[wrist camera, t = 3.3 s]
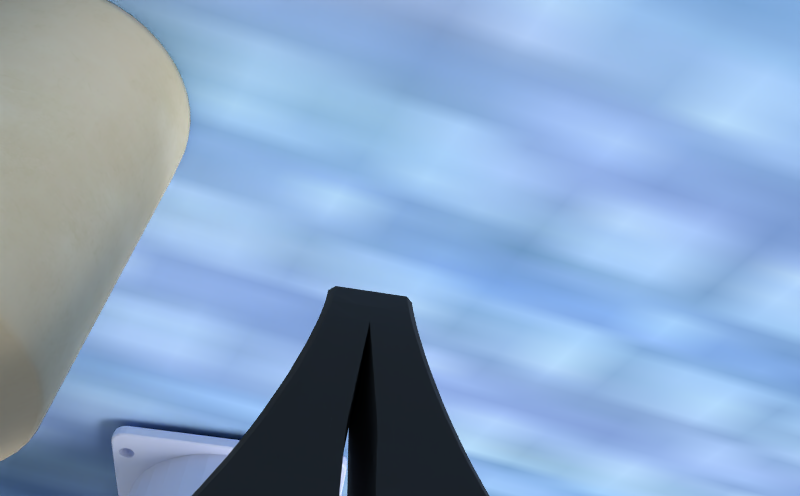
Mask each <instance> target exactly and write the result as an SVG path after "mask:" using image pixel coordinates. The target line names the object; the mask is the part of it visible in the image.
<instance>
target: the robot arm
mask: <svg viewBox="0 0 800 496" xmlns="http://www.w3.org/2000/svg"><path fill="white" fill-rule="evenodd" d="M348 428H349V440H348V490H347V496H489V495H488V493H487V491H486V489H485V488H484V486H483V484H482V482H481V480H480V479H479V477H478V475H477V473H476V471H475V470H474V468H473V466H472V464H471V462H470V460H469V458H468V456H467V454H466V452H465V450H464V448H463V446H462V444H461V442H460V440H459V438H458V436H457V433H456V431H455V429H454V427H453V425H452V423H451V420H450V418H449V416H448V414H447V411H446V409H445V407H444V404H443V402H442V399H441V397H440V394H439V391H438V389H437V386H436V384H435V381H434V379H433V376H432V373H431V371H430V368H429V365H428V362H427V359H426V356H425V353H424V350H423V347H422V343H421V340H420V337H419V333H418V330H417V326H416V322H415V317H414V313H413V307H412V302H411V301H410V300H409V299H408V298H407V297H405V296H399V295H392V294H385V293H379V292H372V291H365V290H358V289H352V288H345V287H338V286H335V287H333V288H332V289H330V290H328V294H327V298H326V301H325V304H324V307H323V309H322V312H321V314H320V317H319V319H318V321H317V323H316V325H315V327H314V329H313V331H312V333H311V335H310V337H309V339H308V341H307V343H306V344H305V346H304V348H303V350H302V351H301V353H300V355H299V356H298V358H297V360H296V361H295V363H294V365H293V366H292V368H291V370H290V372H289V373H288V375H287V376H286V378H285V379H284V381H283V382H282V384H281V385H280V387H279V388H278V390H277V391H276V392H275V394H274V395H273V397H272V398H271V400H270V401H269V403H268V404H267V405H266V407H265V408H264V410H263V411H262V413H261V414H260V415H259V417H258V418H257V419H256V421H255V422H254V423H253V425H252V426H251V427H250V429H249V430H248V431H247V432H246V434H245V435H244V436H243V437H242V439H241V440H234V439H227V438H219V437H211V436H203V435H195V434H188V433H180V432H172V431H164V430H156V429H148V428H141V427H133V426H122V427H118V428H117V429H116V430H115V431H114V434H113V436H112V439H111V444H112V451H113V459H114V467H115V474H116V482H117V490H118V496H341V494H342V489H343V484H344V479H345V474H346V468H347V460H346V458H345V457H344V456H343V452H344V447H345V442H346V438H347V433H348Z"/></svg>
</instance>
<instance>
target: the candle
mask: <svg viewBox="0 0 800 496" xmlns="http://www.w3.org/2000/svg"><path fill="white" fill-rule="evenodd" d="M189 129H190V106H189V101H188V95H187V92H186V89H185V86H184V83H183V80H182V78H181V76H180V73H179V71H178V69H177V67H176V65H175V64H174V62H173V60H172V59H171V57H170V56H169V54H168V52H167V51H166V50H165V49H164V47H163V46H162V45H161V43H160V42H159V41H158V40H157V39H156V38H155V37H154V35H153V34H152V33H151V32H150V31H149V30H148V29H147V28H146V27H145V26H143V25H142V24H141V23H140V22H139V21H137V20H136V19H135V18H134V17H133V16H131V15H130V14H128V13H127V12H125V11H124V10H123V9H121V8H120V7H118V6H116V5H115V4H113V3H111V2H109V1H107V0H0V461H2V460H4V459H6V458H8V457H9V456H11V455H13V454H14V453H16V452H18V451H19V450H20V449H21V448H22V447H23V446H25V445H26V444H27V443H28V442H29V441H30V439H31V438H32V437H33V435H34V434H35V433H36V431H37V430H38V428H39V426H40V424H41V422H42V420H43V419H44V417H45V415H46V413H47V411H48V409H49V407H50V406H51V404H52V402H53V400H54V398H55V396H56V394H57V392H58V391H59V389H60V387H61V385H62V383H63V381H64V379H65V378H66V376H67V374H68V372H69V370H70V368H71V366H72V364H73V363H74V361H75V359H76V357H77V355H78V353H79V351H80V350H81V348H82V346H83V344H84V342H85V340H86V338H87V336H88V335H89V333H90V331H91V329H92V327H93V325H94V323H95V321H96V320H97V318H98V316H99V314H100V312H101V310H102V308H103V307H104V305H105V303H106V301H107V299H108V297H109V295H110V293H111V292H112V290H113V288H114V286H115V284H116V282H117V280H118V279H119V277H120V275H121V273H122V271H123V269H124V267H125V265H126V264H127V262H128V260H129V258H130V256H131V254H132V252H133V250H134V249H135V247H136V245H137V243H138V241H139V239H140V237H141V236H142V234H143V232H144V230H145V228H146V226H147V224H148V222H149V221H150V219H151V217H152V215H153V213H154V211H155V209H156V207H157V206H158V204H159V202H160V200H161V198H162V196H163V194H164V193H165V191H166V189H167V187H168V185H169V183H170V181H171V179H172V177H173V175H174V173H175V171H176V169H177V167H178V165H179V163H180V161H181V159H182V156H183V154H184V152H185V148H186V145H187V141H188V136H189Z"/></svg>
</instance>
